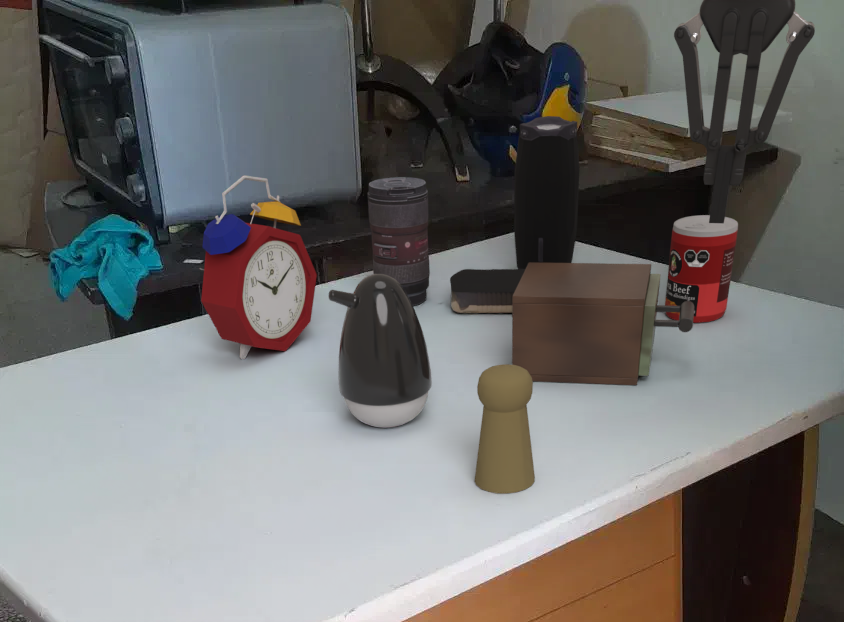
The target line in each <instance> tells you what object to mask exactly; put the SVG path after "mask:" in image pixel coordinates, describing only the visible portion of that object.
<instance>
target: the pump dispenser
mask: <svg viewBox="0 0 844 622" xmlns="http://www.w3.org/2000/svg"><path fill="white" fill-rule="evenodd" d="M328 300H329V301H331V302H334V303H335V304H339V305H340V306H341V305H342V306H344V307H347V310H346V312H345V316H344V319H343V324H342V327H341V328H342V329H341V335H340V340H339V341H340V342H339V347H338V348H339V349H338V365H337V366H338V369H337V373H338V374H337V375H338V376H337V379H338V389H339V390H338V391H339V394H340V395H341V396H342V398H343V399H344V402H345V404H346V407H347V408H348V410H349V412H350V413H351V414H352V415H353V416H354V417H355V418H356V419H357V420H358V421H360V422H361V423H364V424H366V425H368V426H371V427H374V428H384V429H385V428H386V429H387V428H395V427H399V426H402V425H405V424H407V423H410V422H411V421H412V420H414V419H415V418H417V417H418V415H419V414H420V413H421V412H422V410H423V409H424V407H425V406H426V403H427V401H428V400H427V399H428V397H429V392H430V390H431V388H432V386H433V385H432V384H433V380H432V379H433V377H432V368H431V362H430V356H429V351H428V346H427V342H426V338H425V335H424V331H423V329H422V325H421V322H420V320H419V317H418V315H417V312H416V310H415V308H414V306H413V305H412V303H411V301H410V299H409V297H408V295H407V294H406V292H405V290H404V289H403V287H402V286H401V285H400V283H399V282H398V281H397V280H396V279H394V278H393V277H391V276H389V275H386V274H369V275H367V276H366V277H364V278H363V279H361V280H360V281H359V282H358V284H357V286H356V287H355V289H354V291H353V293H352V292H346V291H343V290H337V289H330V290H329V292H328Z"/></svg>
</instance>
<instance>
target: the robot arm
mask: <svg viewBox="0 0 844 622" xmlns="http://www.w3.org/2000/svg"><path fill="white" fill-rule="evenodd" d="M786 25H787V26H788V31H787V32H786V36H785V41H786V43H787V44H788V46H787V48H786V50H785V52H784V54H783V57H782V60H781V63H780V65H779V68H778V70H777V73H776V75H775V79H774V81H773V84H772V87H771V89H770V92H769V95H768V96H767V100H766V103H765V105H764V107H763V110H762V113H761V116H760V118H759V121H758V123H757V126H756V127H752V128H751V125H752V118H753V112H754V111H753V110H754V107H755V106H754V105H755V99H756V92H757V86H758V78H759V72H760V66H761V59H762V53H764V52H766V50H768V48H769V47H770V46H771V45H772V43H774V41H775V40H776V38H777V37H778V35H779V34H780V33H781V32H782V30H783V29H784V28H785V27H786ZM703 26H704V28H705V30H706V32H707V35H708V36H709V39H710V41H711V42H712V45H713V46H714V49H715V50H716V52H718V53H719V55H718V63H717V71H716V72H717V73H716V79H715V86H714V94H713V101H712V108H711V116H710V123H709V127H707V126H705V119H704V106H703V94H702V84H701V73H700V71H701V70H700V59H699V51H698V46H697V45H698V44H699V42H700V40H701V39H702V31H701V30H702V29H701V28H702V27H703ZM815 27H816V26H815V24H814V23H813V22H812V21H807V20H806V19H805V18H804V17H802V15H800V14H799V13H798V12H797V11H796V0H702V2H701V3H700V6H699V12H698V13H697V14H695V15H693V16H692V17H691V18H690V19H688V20H687V21H685V22H681V23H679V24H678V26H677V27H676V29H674V32H673V38H674V41H675V42H676V45H677V47H678V49H679V51H680V54H681V57H682V63H683V65H682V66H683V72H684V73H683V76H684V84H685V85H684V86H685V95H686V96H685V97H686V107H687V117H688V129H689V138H690V140H691V141H692V142H694V143H697V144H701V145H702V146H704V147H705V149H706V156H705V164H704V171H703V177H702V178H703V183H704V186H713V190H712V198H711V203H710V212H709V215H710V219H709V223H723V224H724V220H725V217H726V213H727V207H728V200H729V193H730V187H731V186H740V185H741V183H742V181H743V176H744V171H745V163H746V158H747V152H748V150H749V149H750V148H751V147H753V146H754V145H758V144H763V143H765V142H766V141H767V139H768V138H769V135H770V132H771V129H772V128H773V125H774V122H775V120H776V116H777V114H778V111H779V109H780V106H781V103H782V101H783V98H784V96H785V93H786V90H787V87H788V85H789V82H790V80H791V78H792V75H793V73H794V70H795V68H796V67H795V66H796V64H797V62H798V59H799V57H800V55H801V53H802V52H803V51H804V50H805V48H806V47H807V46H808V44H809V43H810V41H812V39H813V38H814V36H815V32H816V31H815V30H816V29H815ZM740 54H742V55H745V56H746V64H745V71H744V77H743V84H742V92H741V98H740V105H739V111H738V112H739V113H738V118H737V119H738V120H737V126H736V133H735V141H734V145H731V144H730V145H729V144H727V145H726V144H725V145H724V144H722V139H723V132H724V126H725V119H726V111H727V104H728V96H729V90H730V82H731V77H732V76H731V75H732V69H733V63H734V56H736V55H740Z"/></svg>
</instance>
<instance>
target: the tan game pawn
mask: <svg viewBox="0 0 844 622" xmlns="http://www.w3.org/2000/svg"><path fill="white" fill-rule="evenodd" d="M476 387H477V391H476V392H477V397H478V400H479V401H480V403H481V405H483V407H482V415H481V417H482V418H481V424H480V432H479V438H478V439H479V440H478V449H477V456H476V464H475V472H474V480H473V482H474V483H475V486H476V487H478V488H479V489H481V490H483V491H486V492H488V493H493V494H513V493H514V494H515V493H520V492H522V491H526V490H527V489H529V488H531V487H532V486H533V484H534V483H535V481H536V480H535V479H536V476H535V467H534V458H533V457H534V456H533V449H532V441H531V440H532V439H531V431H530V424H529V423H530V422H529V414H528V403H530V400H531V399H532V396H533V389H534V381H532V377H531V376H530V374H529V372H528V371H527V370H526V369H524V368H522V367H520V366H517V365H512V364H510V363H509V364H507V363H506V364H505V363H504V364H497V365H496V364H495V365H493V366H490V367H488V368H486V369H484V370H483V371H482V372H481V373H480V375H479V377H478V381H477V386H476Z"/></svg>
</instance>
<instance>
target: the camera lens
mask: <svg viewBox="0 0 844 622" xmlns="http://www.w3.org/2000/svg"><path fill="white" fill-rule="evenodd" d="M367 207H368V208H367V210H368V222H369V228H370V231H371V232H370V233H371V249H372V273H373V274H386V275H389V276H391V277H393V278H394V279H396V280H397V281H398V282H399V283H400V285H401V286H402V287H403V289H404V290H405V292H406V294H407V295H408V297H409V299H410V301H411V303H412V305H413V307H414V306H418V305H420V304H422V303H424V302H426V300H427V293H428V292H427V290H428V288H429V286H430V274H431V272H430V270H431V269H430V268H431V267H430V256H429V236H428V233H429V232H428V229H429V228H428V227H429V191H428V188H427V182H426V181H425V179H422V178H418V177H410V176H409V177H407V176H399V177H398V176H397V177H384V178H378V179H374V180H371V181H370V182H369V183H368V192H367Z"/></svg>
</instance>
